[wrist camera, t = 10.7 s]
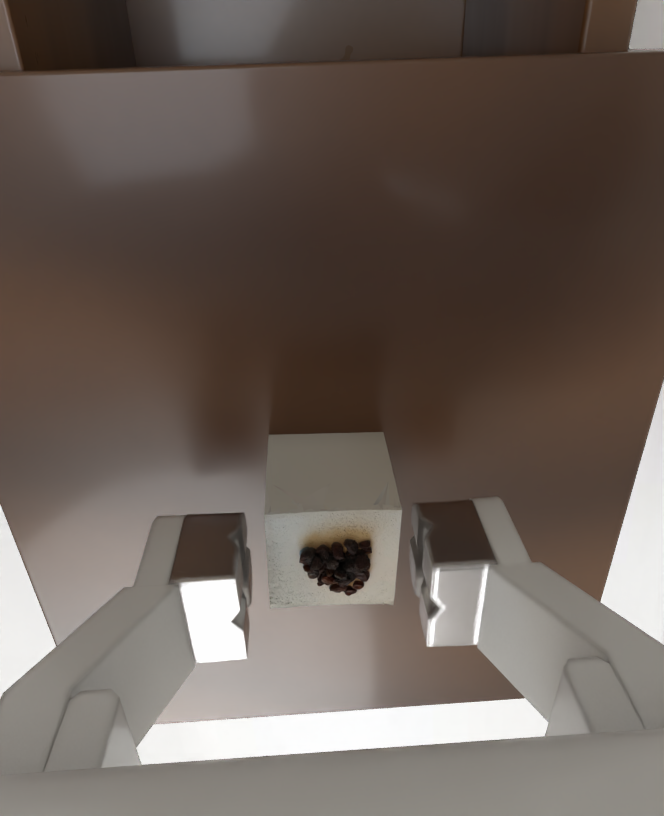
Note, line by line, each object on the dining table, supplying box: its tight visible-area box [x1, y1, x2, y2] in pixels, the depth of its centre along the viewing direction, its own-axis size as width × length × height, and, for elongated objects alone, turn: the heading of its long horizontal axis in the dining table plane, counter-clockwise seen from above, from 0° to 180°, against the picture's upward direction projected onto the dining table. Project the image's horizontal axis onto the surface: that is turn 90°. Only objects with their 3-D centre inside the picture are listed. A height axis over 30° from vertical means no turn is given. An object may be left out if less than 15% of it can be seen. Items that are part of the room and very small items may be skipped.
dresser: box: [0, 49, 664, 724], centre depth 16 cm, size 15×13×11 cm
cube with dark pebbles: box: [264, 432, 402, 609], centre depth 11 cm, size 2×2×2 cm
